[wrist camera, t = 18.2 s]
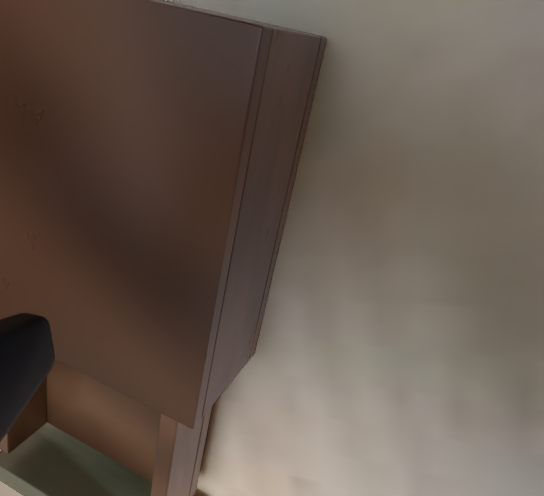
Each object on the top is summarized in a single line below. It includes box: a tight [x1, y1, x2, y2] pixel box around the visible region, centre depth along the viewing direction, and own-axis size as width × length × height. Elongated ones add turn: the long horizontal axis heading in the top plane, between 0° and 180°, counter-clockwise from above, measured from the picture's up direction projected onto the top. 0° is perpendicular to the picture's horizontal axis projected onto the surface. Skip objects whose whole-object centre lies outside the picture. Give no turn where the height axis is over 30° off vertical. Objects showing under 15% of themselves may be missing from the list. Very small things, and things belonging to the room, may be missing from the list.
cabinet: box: [0, 0, 326, 429], centre depth 18 cm, size 13×12×5 cm
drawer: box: [0, 359, 212, 496], centre depth 24 cm, size 16×11×4 cm
